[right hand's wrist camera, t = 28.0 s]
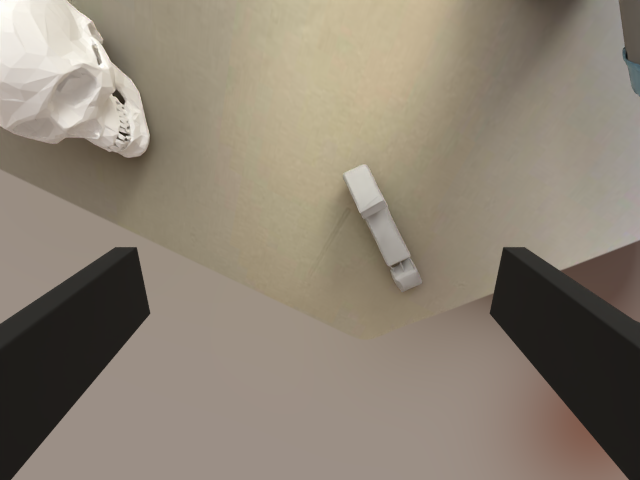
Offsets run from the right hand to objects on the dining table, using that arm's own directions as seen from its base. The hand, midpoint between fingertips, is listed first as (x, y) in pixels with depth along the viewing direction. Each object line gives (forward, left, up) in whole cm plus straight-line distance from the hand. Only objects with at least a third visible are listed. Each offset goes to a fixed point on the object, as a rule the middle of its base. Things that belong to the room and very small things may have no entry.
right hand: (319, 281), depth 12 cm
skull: (-23, -21, -36) cm, 48 cm away
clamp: (+13, +3, -36) cm, 39 cm away
